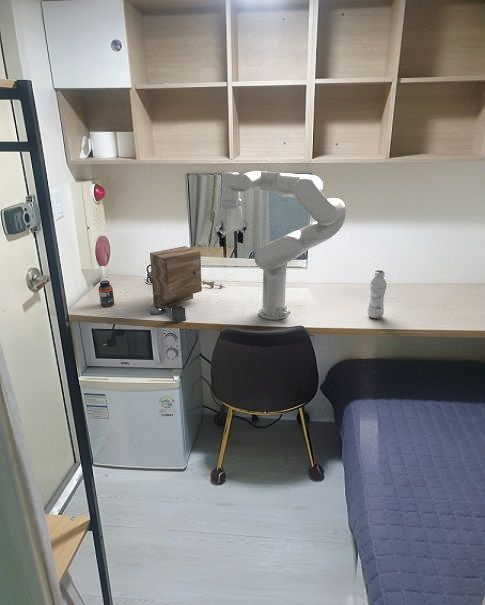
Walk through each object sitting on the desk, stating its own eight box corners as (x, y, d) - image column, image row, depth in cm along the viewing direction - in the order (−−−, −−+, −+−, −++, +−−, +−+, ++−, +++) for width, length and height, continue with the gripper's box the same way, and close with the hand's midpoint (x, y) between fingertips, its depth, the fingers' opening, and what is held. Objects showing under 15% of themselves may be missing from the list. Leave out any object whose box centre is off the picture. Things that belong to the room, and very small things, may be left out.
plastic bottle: (373, 321, 188) (379, 275, 180) (363, 315, 193) (368, 270, 186) (386, 319, 190) (392, 273, 183) (375, 313, 196) (380, 268, 188)
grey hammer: (185, 320, 189) (185, 308, 187) (177, 323, 187) (176, 310, 185) (162, 308, 202) (162, 296, 200) (155, 310, 199) (154, 298, 197)
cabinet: (203, 303, 207) (201, 251, 198) (169, 313, 196) (166, 259, 187) (187, 295, 216) (184, 246, 208) (153, 304, 205) (149, 252, 197)
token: (164, 313, 196) (163, 308, 195) (153, 316, 193) (153, 311, 192) (158, 310, 200) (158, 305, 199) (148, 313, 197) (147, 307, 196)
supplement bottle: (107, 302, 209) (104, 278, 205) (117, 304, 206) (114, 280, 202) (97, 306, 204) (94, 282, 200) (108, 308, 201) (105, 284, 197)
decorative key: (224, 294, 226) (186, 285, 229) (225, 293, 227) (186, 285, 230) (226, 282, 224) (187, 273, 226) (227, 281, 225) (188, 272, 227)
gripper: (241, 200, 194) (241, 239, 200) (208, 204, 184) (209, 246, 190) (253, 202, 189) (252, 243, 195) (219, 207, 178) (220, 249, 185)
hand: (231, 244), depth 192 cm, fingers open, 9 cm apart
